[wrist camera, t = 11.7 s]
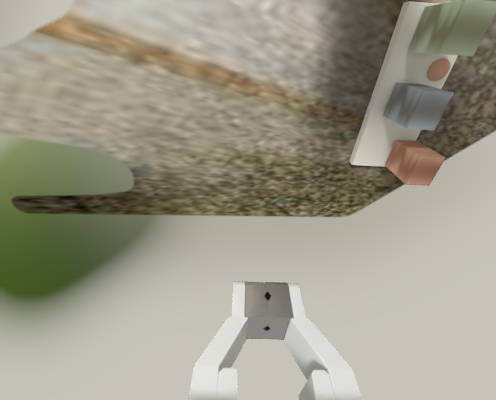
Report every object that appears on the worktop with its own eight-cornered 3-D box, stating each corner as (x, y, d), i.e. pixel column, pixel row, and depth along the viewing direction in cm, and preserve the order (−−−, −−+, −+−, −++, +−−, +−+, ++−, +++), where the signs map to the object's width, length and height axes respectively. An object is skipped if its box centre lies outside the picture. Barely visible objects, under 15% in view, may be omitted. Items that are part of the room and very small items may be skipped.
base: (403, 2, 32) (411, 0, 30) (472, 8, 32) (483, 7, 31) (349, 161, 45) (352, 165, 44) (398, 164, 46) (403, 168, 44)
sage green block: (424, 6, 30) (466, -1, 25) (453, 9, 31) (501, 2, 25) (407, 51, 33) (441, 54, 28) (434, 53, 33) (473, 56, 28)
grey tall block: (395, 82, 36) (424, 90, 30) (420, 84, 36) (454, 92, 30) (383, 115, 38) (406, 128, 33) (406, 116, 39) (434, 130, 33)
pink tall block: (395, 140, 41) (420, 156, 35) (417, 141, 41) (445, 157, 35) (384, 165, 44) (405, 184, 38) (405, 166, 44) (429, 185, 38)
